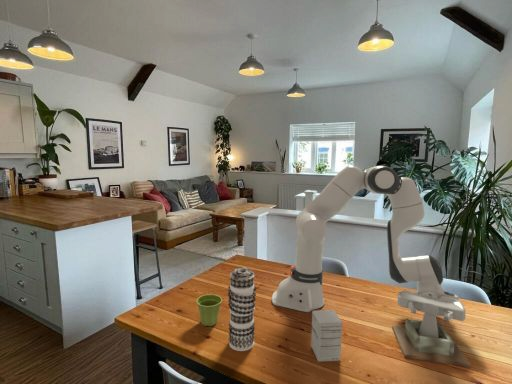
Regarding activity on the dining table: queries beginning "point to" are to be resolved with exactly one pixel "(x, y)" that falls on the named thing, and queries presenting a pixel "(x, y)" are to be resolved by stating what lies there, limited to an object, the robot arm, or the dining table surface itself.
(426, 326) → the salt shaker
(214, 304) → the plant pot
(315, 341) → the supplement box
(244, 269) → the decorative candle
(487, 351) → the dining table surface
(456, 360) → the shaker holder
